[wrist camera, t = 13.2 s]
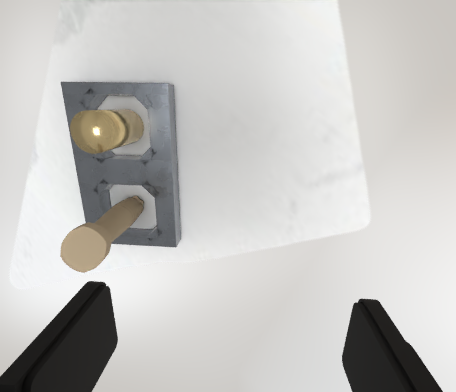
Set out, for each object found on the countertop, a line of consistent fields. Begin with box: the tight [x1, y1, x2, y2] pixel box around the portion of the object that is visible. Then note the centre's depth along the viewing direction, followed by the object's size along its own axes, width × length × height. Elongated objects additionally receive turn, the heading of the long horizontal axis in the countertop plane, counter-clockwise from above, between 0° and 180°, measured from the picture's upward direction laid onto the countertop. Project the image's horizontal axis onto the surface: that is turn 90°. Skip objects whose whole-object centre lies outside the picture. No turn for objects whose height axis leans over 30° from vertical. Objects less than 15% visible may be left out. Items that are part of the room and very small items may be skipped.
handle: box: [61, 196, 144, 272], centre depth 37 cm, size 5×6×15 cm
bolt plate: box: [61, 82, 181, 247], centre depth 41 cm, size 25×15×3 cm, turn 179°
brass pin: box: [70, 109, 144, 154], centre depth 35 cm, size 5×5×10 cm
